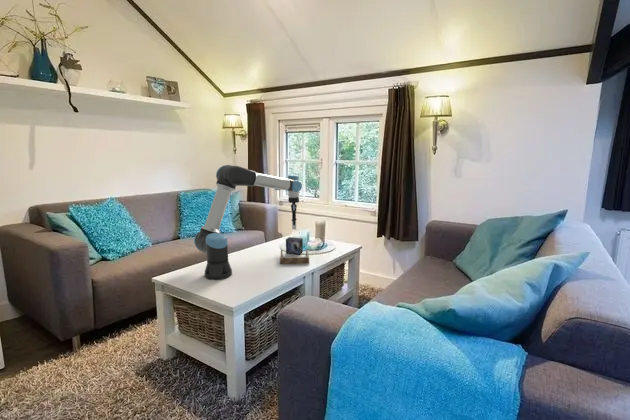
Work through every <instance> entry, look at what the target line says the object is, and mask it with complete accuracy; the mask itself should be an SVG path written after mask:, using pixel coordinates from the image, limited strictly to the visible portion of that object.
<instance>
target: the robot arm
mask: <svg viewBox="0 0 630 420" xmlns="http://www.w3.org/2000/svg"><path fill="white" fill-rule="evenodd" d="M215 177H216V182H215V184H216V191H215V194H214V197H213V199H212V203H211V206H210V208H209V212H208V215H207V218H206V221H205V224H204V225H203V226H201V227H200V230H199V231H198V232H197V233H196V234H195V235H194V237H193V244H194V246H195V248H196V249H198V250H199V251H200V252H203V253H204V254H206V266H205V270H204V278H205V277H206V279H207V278H208V280H211V279H213V280H214V281H215V280H217V281H218V279H219V280H223V279H224V280H225V279H227V278H230V277H231V276H232V275H233V269H232V267H231V264H230V262H229V248H228V247H229V246H228V245H229V241H228V237H227V235H225V234H224V233H221V231H220V228H221V224H222V222H223V219H224V215H225V212H226V209H227V207H228V204H229V200H230V197H231V195H232V193H233V192H234V191H236V187H244V186H245V187H254V186H257V187H262V188H269V189H274V190H275V191H287V197H288V203H290V208H291V215H292V216H291V223H292V224H291V227H292V230H297V203H299V202H300V191H302V188H303V184H302V182H301V181H300V177H299V175H298V174H288V175H287V177H286V178H284V177H280V176H273V175H269V174H265V173H259V172H256V171H255V170H252V169H249V168H245V167H242V166H239V165H231V164H226V165H225V164H224V165H221V166H219V168H218V169H217V171H216V174H215Z"/></svg>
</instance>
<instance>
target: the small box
mask: <svg viewBox="0 0 630 420" xmlns="http://www.w3.org/2000/svg"><path fill="white" fill-rule="evenodd" d="M303 240H304V239H303V237H291V236H289V237H287V238H286V239H285V254H286V255H295V256H301V255H302V254H303V253H302V252H304V251H303V249H304V247H303V246H304V242H303ZM301 253H302V254H301Z"/></svg>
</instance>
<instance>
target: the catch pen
mask: <svg viewBox="0 0 630 420" xmlns="http://www.w3.org/2000/svg"><path fill="white" fill-rule="evenodd" d="M283 254H284V253H283V249H280V259H279V260H280V263H279V264H280V265H300V264H301V265H303V264H305V265H306V264H310V256H309V250H308V249H307V248H306V249H305V256H301V257H299V256H298V257H297V256H295V257H293V256H292V257H290V256H289V257H284V255H283Z"/></svg>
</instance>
